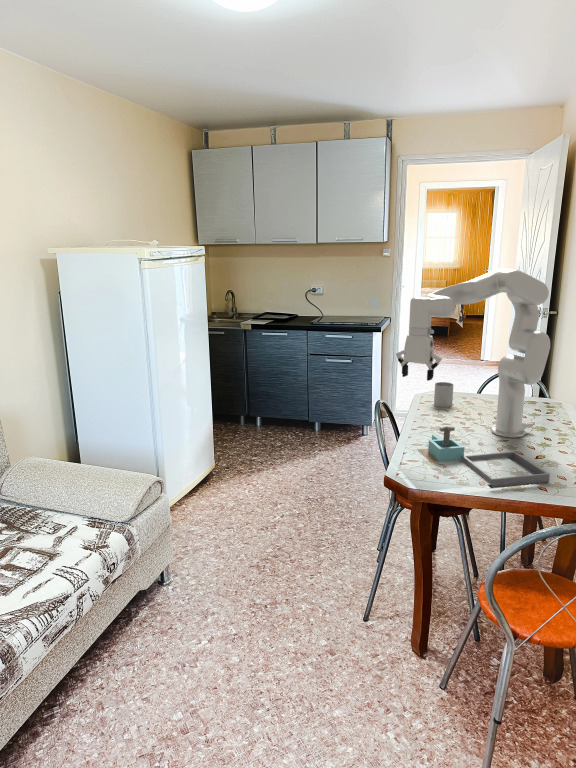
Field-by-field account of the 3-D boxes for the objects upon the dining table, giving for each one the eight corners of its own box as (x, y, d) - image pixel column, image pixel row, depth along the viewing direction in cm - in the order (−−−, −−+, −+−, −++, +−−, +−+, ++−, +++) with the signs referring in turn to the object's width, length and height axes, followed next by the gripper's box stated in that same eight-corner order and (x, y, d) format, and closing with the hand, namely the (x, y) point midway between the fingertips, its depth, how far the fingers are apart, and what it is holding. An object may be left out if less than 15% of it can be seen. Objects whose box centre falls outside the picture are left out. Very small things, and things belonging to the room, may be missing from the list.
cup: (434, 406, 247) (435, 386, 244) (433, 401, 255) (434, 382, 252) (453, 407, 245) (454, 386, 243) (451, 402, 253) (452, 382, 251)
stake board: (447, 450, 194) (449, 419, 191) (463, 463, 182) (465, 430, 179) (416, 453, 192) (418, 422, 189) (430, 466, 181) (432, 433, 178)
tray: (513, 459, 185) (514, 451, 184) (548, 482, 166) (549, 474, 165) (461, 463, 182) (461, 455, 181) (491, 488, 163) (492, 479, 163)
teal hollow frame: (445, 445, 195) (446, 433, 194) (463, 459, 182) (464, 447, 181) (422, 446, 194) (423, 435, 193) (439, 461, 181) (439, 449, 180)
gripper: (446, 332, 186) (443, 379, 190) (402, 328, 197) (400, 373, 201) (438, 335, 181) (435, 383, 185) (392, 331, 191) (391, 376, 195)
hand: (417, 378), depth 193 cm, fingers open, 9 cm apart
